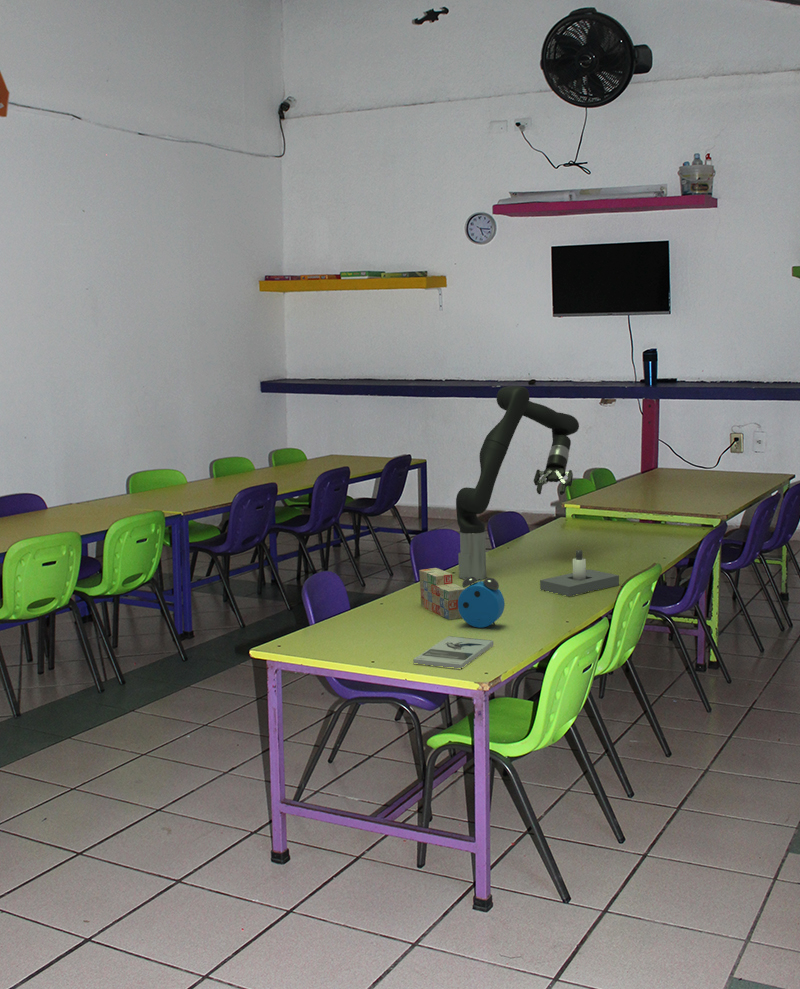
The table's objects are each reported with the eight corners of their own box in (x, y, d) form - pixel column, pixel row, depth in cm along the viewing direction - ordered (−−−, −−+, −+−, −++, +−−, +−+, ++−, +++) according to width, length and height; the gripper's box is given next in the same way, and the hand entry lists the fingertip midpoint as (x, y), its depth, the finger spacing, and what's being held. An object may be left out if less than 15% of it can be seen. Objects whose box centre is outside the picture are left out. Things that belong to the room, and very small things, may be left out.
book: (461, 671, 258) (460, 664, 258) (413, 666, 264) (413, 659, 264) (493, 647, 278) (493, 640, 278) (448, 642, 284) (448, 635, 284)
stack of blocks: (466, 617, 309) (465, 579, 308) (448, 620, 307) (447, 581, 305) (437, 603, 329) (436, 566, 327) (420, 605, 326) (419, 569, 325)
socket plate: (569, 597, 329) (569, 586, 329) (540, 590, 341) (540, 580, 340) (619, 585, 343) (618, 575, 342) (589, 578, 354) (589, 569, 354)
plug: (579, 589, 339) (579, 552, 337) (570, 587, 342) (569, 550, 341) (588, 587, 341) (588, 550, 340) (579, 585, 345) (578, 548, 343)
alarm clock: (505, 625, 298) (504, 576, 296) (498, 630, 293) (497, 581, 291) (465, 621, 304) (463, 574, 302) (457, 626, 299) (456, 578, 296)
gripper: (537, 453, 379) (529, 487, 370) (574, 453, 373) (566, 487, 364) (541, 465, 384) (533, 498, 376) (577, 465, 379) (570, 499, 370)
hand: (549, 493), depth 370 cm, fingers open, 8 cm apart
